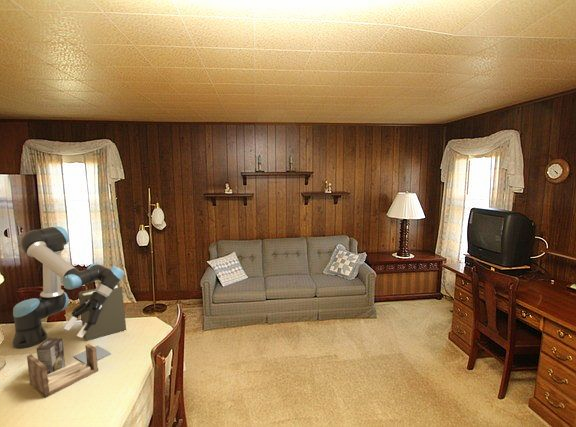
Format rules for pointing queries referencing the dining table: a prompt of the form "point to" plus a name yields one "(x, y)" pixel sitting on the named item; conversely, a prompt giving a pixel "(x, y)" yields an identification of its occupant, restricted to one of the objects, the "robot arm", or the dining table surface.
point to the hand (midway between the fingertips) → (72, 333)
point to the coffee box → (52, 354)
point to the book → (105, 314)
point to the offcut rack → (60, 373)
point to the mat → (100, 354)
